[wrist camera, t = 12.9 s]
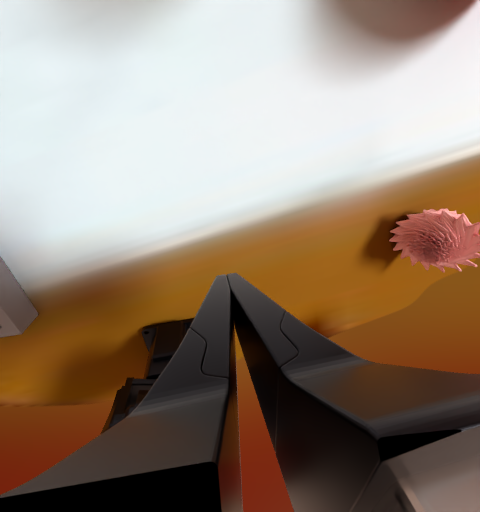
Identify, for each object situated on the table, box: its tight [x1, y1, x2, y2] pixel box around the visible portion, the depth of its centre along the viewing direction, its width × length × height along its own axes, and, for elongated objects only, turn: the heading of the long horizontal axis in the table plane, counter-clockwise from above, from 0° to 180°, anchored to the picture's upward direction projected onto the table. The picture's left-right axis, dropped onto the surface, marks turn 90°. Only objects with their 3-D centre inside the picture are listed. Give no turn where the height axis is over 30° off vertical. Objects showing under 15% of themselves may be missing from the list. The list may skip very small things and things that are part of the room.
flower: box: [389, 209, 480, 272], centre depth 23 cm, size 8×8×6 cm
